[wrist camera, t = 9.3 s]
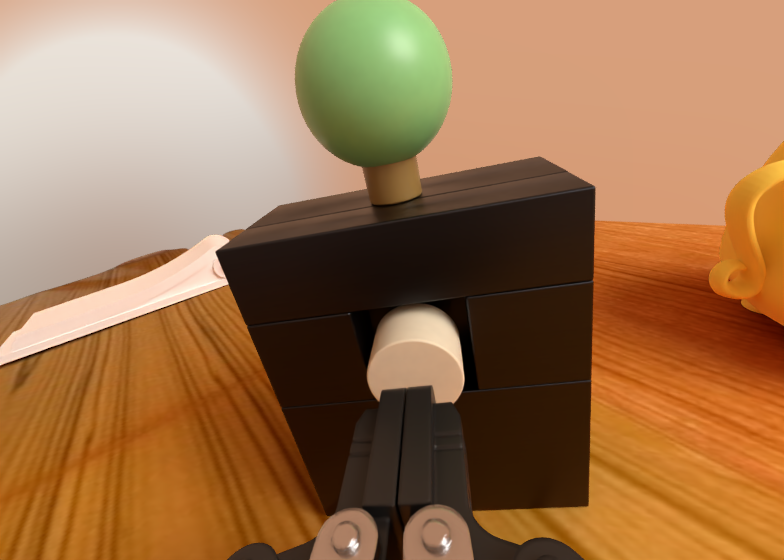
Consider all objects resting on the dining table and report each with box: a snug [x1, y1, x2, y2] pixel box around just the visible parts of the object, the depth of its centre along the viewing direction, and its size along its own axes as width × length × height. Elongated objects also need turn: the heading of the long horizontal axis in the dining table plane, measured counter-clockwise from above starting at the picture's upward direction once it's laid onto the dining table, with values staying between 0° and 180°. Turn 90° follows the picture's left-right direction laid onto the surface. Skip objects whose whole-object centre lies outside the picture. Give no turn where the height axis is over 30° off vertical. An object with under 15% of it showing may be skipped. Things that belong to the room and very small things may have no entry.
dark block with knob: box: [215, 0, 595, 516], centre depth 16 cm, size 6×12×20 cm, turn 85°
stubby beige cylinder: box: [367, 303, 464, 403], centre depth 13 cm, size 2×3×3 cm
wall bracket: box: [0, 235, 229, 365], centre depth 49 cm, size 10×7×28 cm
